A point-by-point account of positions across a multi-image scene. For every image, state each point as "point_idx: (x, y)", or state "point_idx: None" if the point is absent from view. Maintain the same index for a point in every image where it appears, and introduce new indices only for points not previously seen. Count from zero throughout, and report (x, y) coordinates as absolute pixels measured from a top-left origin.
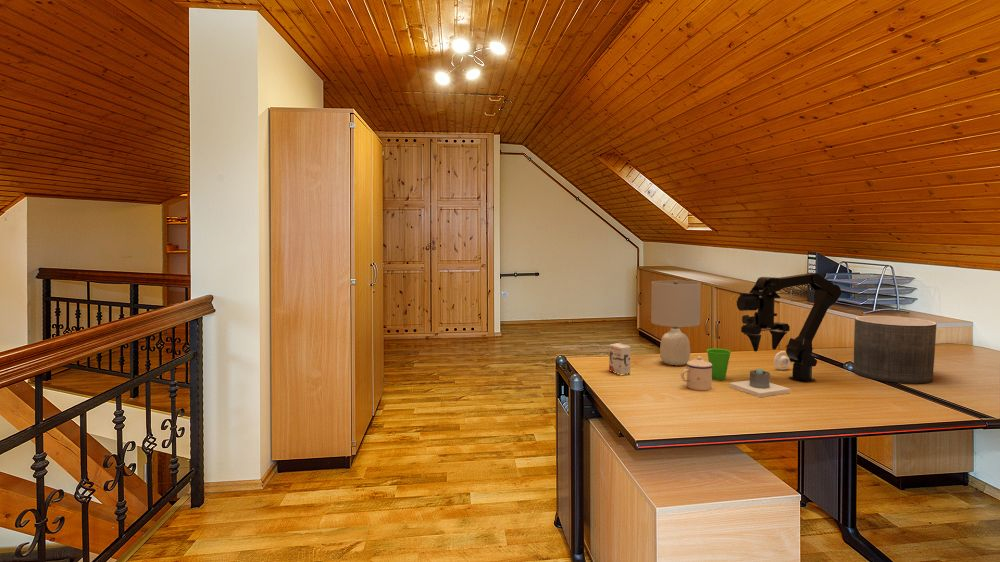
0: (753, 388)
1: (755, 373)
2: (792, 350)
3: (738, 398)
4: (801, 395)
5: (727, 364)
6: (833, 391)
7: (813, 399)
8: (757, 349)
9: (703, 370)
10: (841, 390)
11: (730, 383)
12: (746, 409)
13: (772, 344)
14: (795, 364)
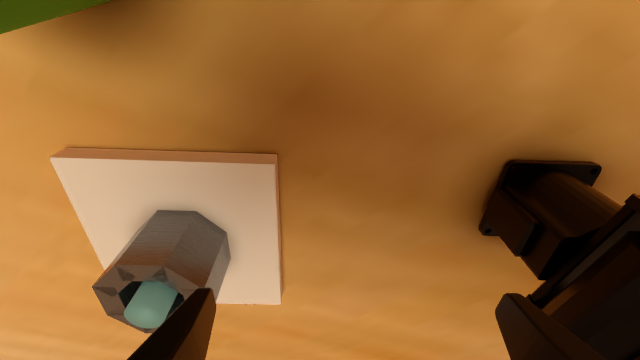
0: None
1: (112, 308)
2: (620, 350)
3: (36, 269)
4: (295, 313)
5: (36, 19)
6: (436, 321)
7: (293, 341)
8: (203, 342)
9: None
10: (471, 323)
11: (53, 165)
12: (16, 334)
13: (548, 351)
14: (551, 252)
